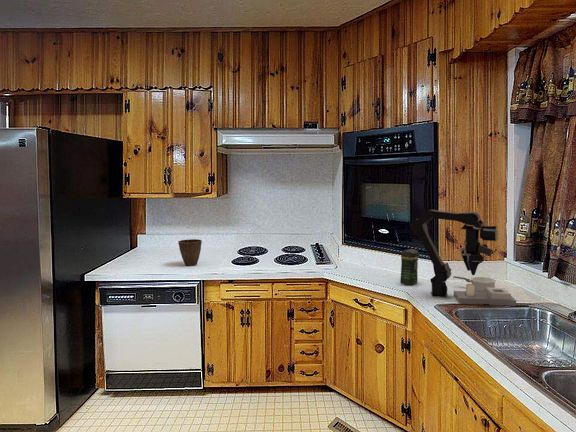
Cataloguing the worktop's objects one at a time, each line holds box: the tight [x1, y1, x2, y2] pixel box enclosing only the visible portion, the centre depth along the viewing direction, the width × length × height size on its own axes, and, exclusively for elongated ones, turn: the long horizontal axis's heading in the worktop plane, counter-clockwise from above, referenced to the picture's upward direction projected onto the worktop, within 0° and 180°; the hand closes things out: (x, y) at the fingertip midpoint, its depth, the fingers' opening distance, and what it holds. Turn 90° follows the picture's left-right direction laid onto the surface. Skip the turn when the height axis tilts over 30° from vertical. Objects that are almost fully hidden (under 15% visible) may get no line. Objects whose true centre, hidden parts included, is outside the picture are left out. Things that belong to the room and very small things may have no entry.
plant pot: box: [177, 238, 203, 267], centre depth 276 cm, size 15×15×16 cm
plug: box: [465, 283, 476, 296], centre depth 196 cm, size 3×3×8 cm
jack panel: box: [453, 287, 517, 307], centre depth 195 cm, size 24×12×5 cm, turn 79°
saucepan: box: [452, 275, 497, 292], centre depth 215 cm, size 12×20×6 cm, turn 58°
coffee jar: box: [399, 248, 419, 286], centre depth 226 cm, size 10×8×19 cm
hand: (470, 272), depth 195 cm, fingers open, 9 cm apart
